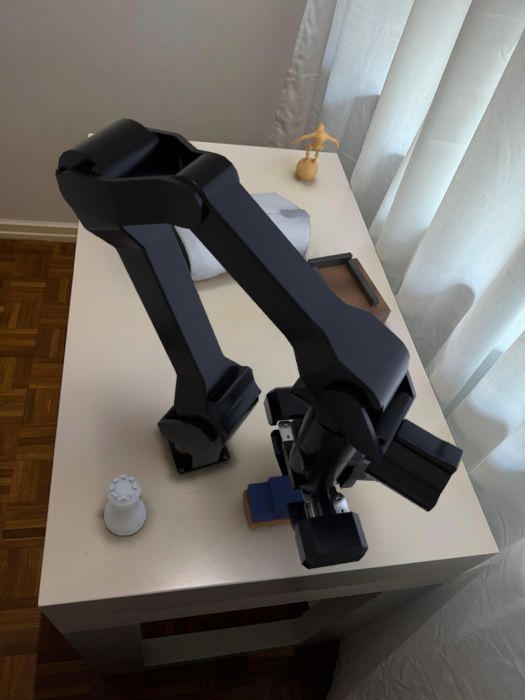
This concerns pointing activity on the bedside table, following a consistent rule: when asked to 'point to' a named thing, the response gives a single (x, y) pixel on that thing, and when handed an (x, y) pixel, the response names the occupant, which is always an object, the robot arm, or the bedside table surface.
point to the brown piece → (351, 283)
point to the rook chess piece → (124, 506)
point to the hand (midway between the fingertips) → (294, 501)
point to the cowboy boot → (279, 211)
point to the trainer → (270, 501)
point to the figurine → (308, 165)
